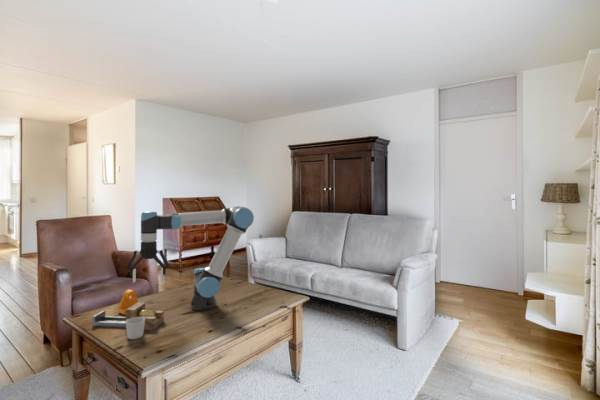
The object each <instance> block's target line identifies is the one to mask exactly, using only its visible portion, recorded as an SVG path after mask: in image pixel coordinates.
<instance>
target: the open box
mask: <svg viewBox="0 0 600 400" xmlns="http://www.w3.org/2000/svg"><path fill="white" fill-rule="evenodd" d="M138 310H146V302H139V301H138V303H136V304H134V305H133V306H131V307H130V308H128V309H126V321H127V320H128V319H131V318H135V317H142V318H145V324H144V331H145V330H147V331H148V330H149V331H155V329H157V328H158V327H159V326H161V324H163V322H164V321H165V320H164V319H165V310H156V312H157V314H156V317H151V316H137V311H138Z"/></svg>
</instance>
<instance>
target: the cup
mask: <svg viewBox="0 0 600 400" xmlns="http://www.w3.org/2000/svg"><path fill="white" fill-rule="evenodd" d="M144 324H145V318H142V317H135V318H131V319H128V320H127V321H126V328H125V330H126V337H127V339H129V340H139V339H140V338H142V337H143V336H144V331H145V330H144Z"/></svg>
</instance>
